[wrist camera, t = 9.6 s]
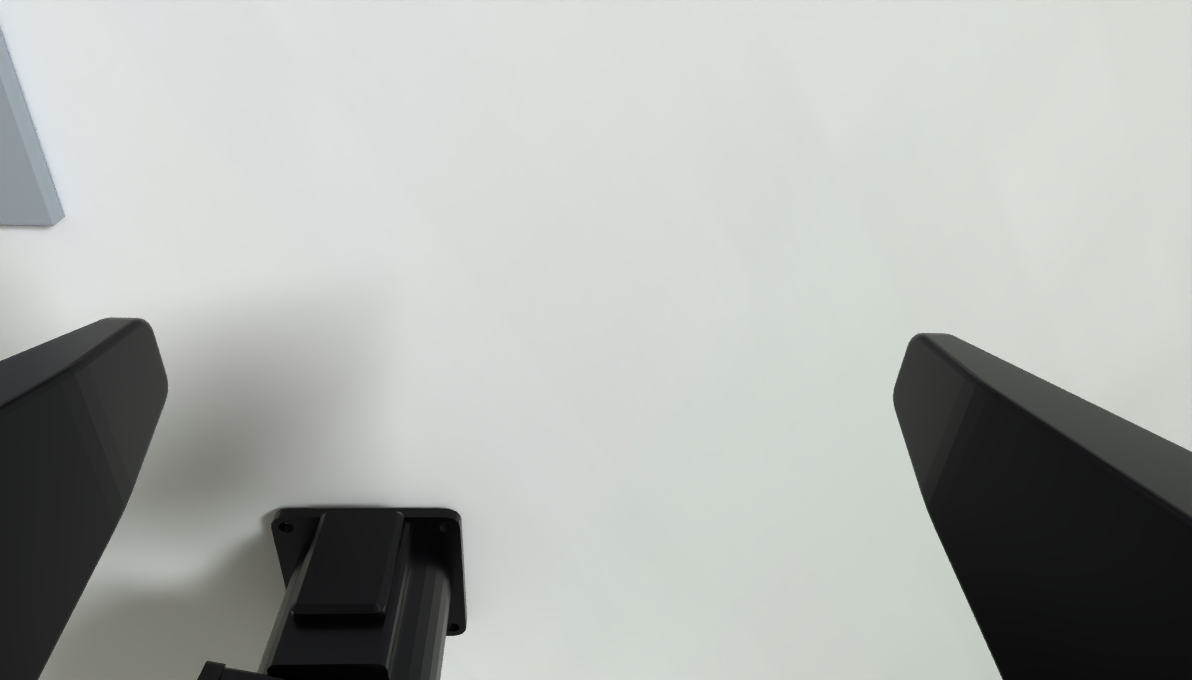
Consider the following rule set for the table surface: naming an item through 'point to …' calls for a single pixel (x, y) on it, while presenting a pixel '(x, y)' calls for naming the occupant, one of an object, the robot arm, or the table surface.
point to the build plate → (22, 158)
